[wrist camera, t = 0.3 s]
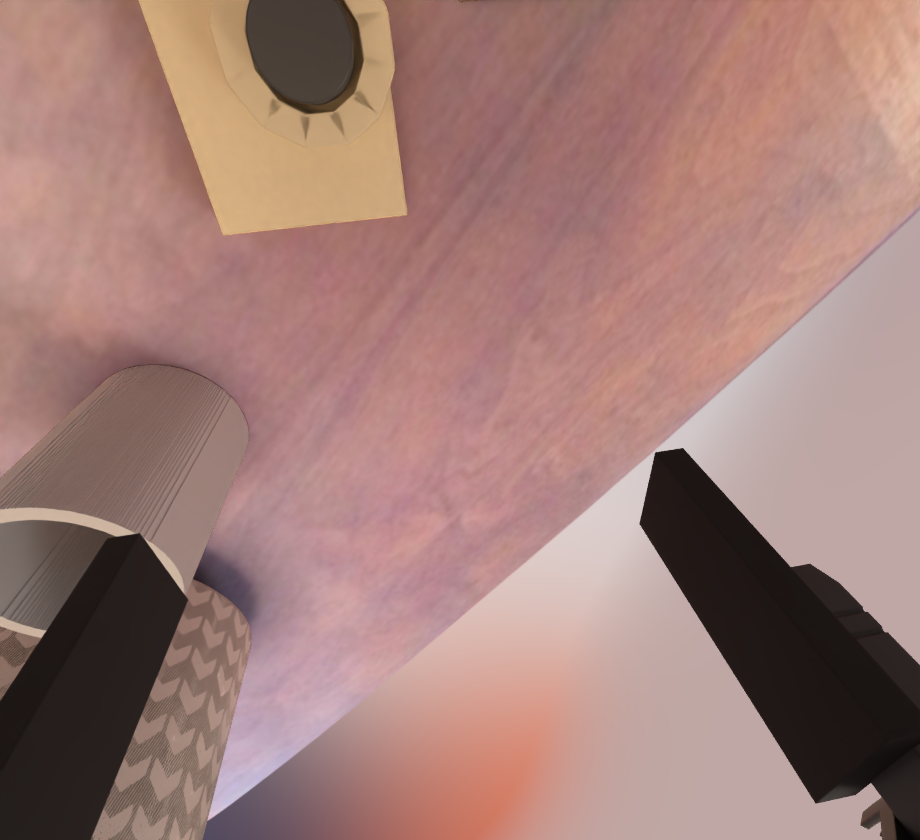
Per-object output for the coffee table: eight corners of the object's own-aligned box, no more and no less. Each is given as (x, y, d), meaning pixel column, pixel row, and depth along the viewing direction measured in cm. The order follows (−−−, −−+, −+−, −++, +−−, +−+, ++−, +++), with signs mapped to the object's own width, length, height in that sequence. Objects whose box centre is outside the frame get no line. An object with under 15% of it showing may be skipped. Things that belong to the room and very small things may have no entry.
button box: (142, -43, 18) (87, -79, 14) (376, -58, 18) (374, -97, 15) (234, 226, 23) (210, 244, 20) (410, 207, 24) (414, 221, 21)
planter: (289, 560, 38) (227, 848, 23) (227, 675, 46) (152, 942, 31) (11, 498, 30) (-344, 859, 16) (-4, 647, 39) (-247, 978, 24)
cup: (187, 342, 26) (70, 476, 16) (275, 452, 31) (226, 603, 22) (55, 398, 27) (-132, 557, 17) (163, 496, 32) (65, 662, 22)
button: (242, -14, 16) (228, -27, 14) (343, -21, 16) (339, -35, 15) (274, 109, 18) (264, 108, 17) (363, 100, 18) (362, 99, 17)
